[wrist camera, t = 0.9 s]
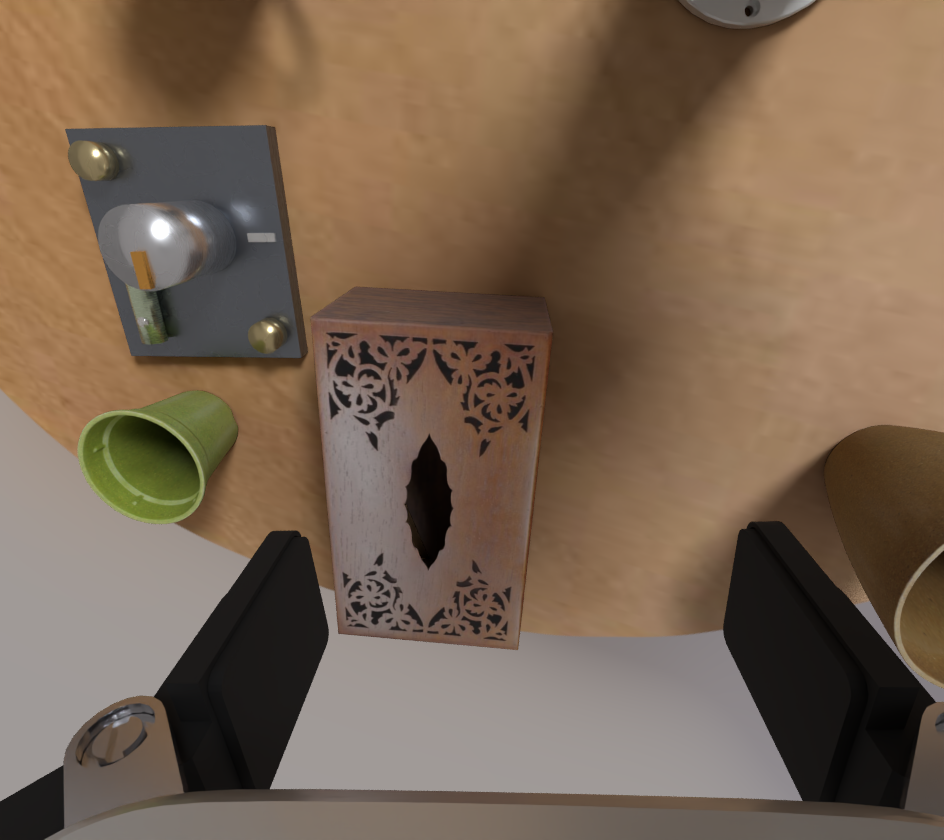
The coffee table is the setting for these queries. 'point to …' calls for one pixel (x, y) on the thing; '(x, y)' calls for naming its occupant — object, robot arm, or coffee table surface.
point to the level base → (244, 205)
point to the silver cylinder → (165, 242)
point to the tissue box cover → (431, 458)
